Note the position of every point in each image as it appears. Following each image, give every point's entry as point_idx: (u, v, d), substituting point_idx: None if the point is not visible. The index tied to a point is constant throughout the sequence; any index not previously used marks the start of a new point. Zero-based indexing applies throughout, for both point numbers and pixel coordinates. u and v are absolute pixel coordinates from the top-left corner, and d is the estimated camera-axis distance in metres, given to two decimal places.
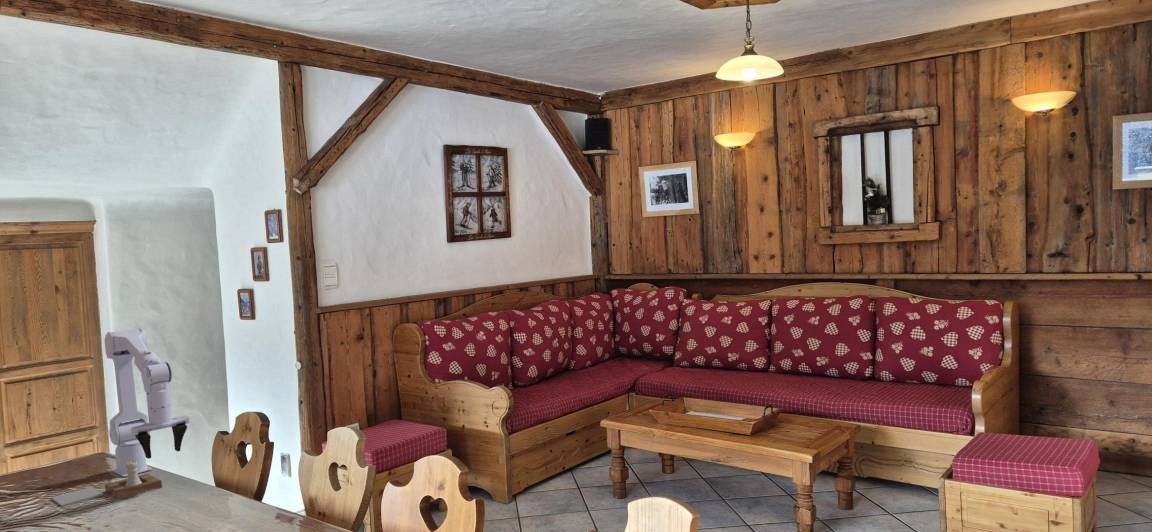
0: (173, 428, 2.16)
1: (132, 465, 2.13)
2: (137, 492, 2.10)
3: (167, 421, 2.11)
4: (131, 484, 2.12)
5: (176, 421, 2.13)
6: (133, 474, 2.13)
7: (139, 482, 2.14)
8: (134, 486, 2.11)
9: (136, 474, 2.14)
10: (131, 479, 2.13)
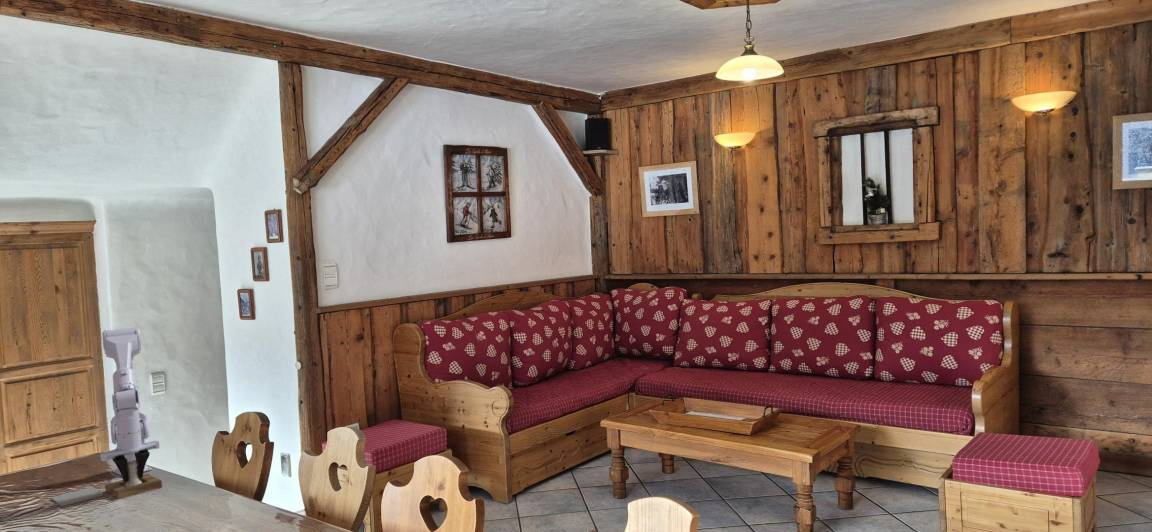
0: (136, 455, 2.16)
1: (132, 465, 2.13)
2: (137, 492, 2.10)
3: (136, 447, 2.12)
4: (131, 484, 2.12)
5: (146, 446, 2.15)
6: (133, 474, 2.13)
7: (139, 482, 2.14)
8: (134, 486, 2.11)
9: (136, 474, 2.14)
10: (131, 479, 2.13)
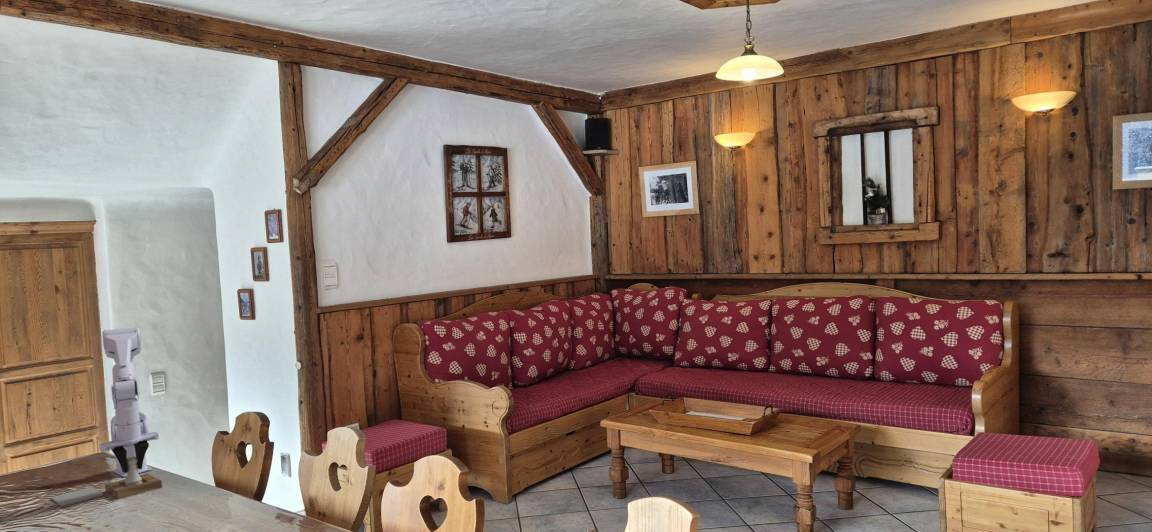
0: (135, 446, 2.16)
1: (131, 461, 2.13)
2: (137, 492, 2.10)
3: (136, 437, 2.12)
4: (130, 480, 2.12)
5: (145, 437, 2.15)
6: (132, 470, 2.13)
7: (138, 479, 2.14)
8: (134, 486, 2.11)
9: (136, 470, 2.14)
10: (130, 475, 2.13)
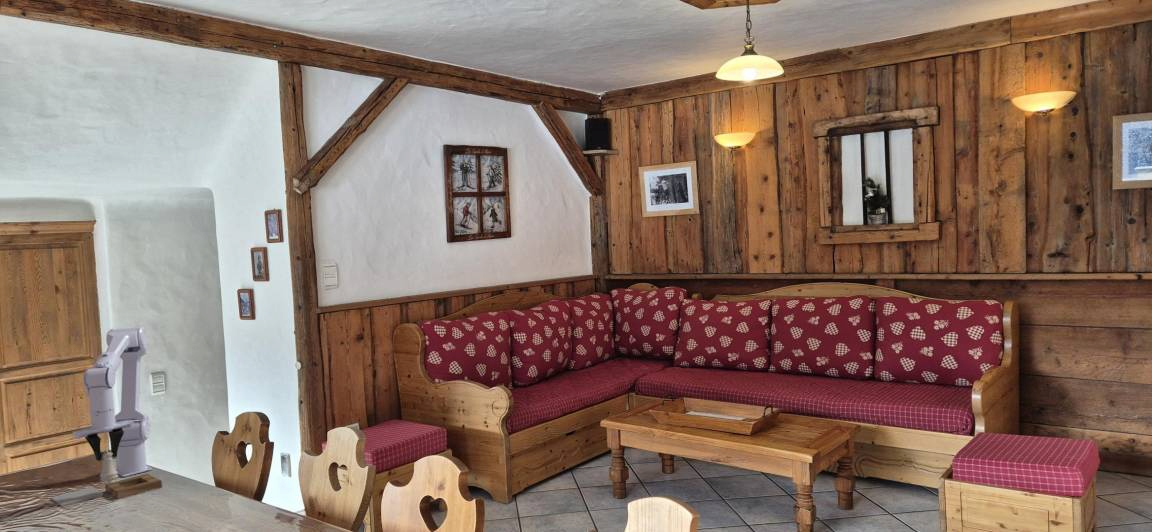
0: (110, 434, 2.14)
1: (106, 454, 2.10)
2: (137, 492, 2.10)
3: (110, 425, 2.10)
4: (105, 473, 2.10)
5: (120, 425, 2.13)
6: (108, 463, 2.11)
7: (114, 472, 2.11)
8: (134, 486, 2.11)
9: (111, 463, 2.12)
10: (105, 468, 2.10)
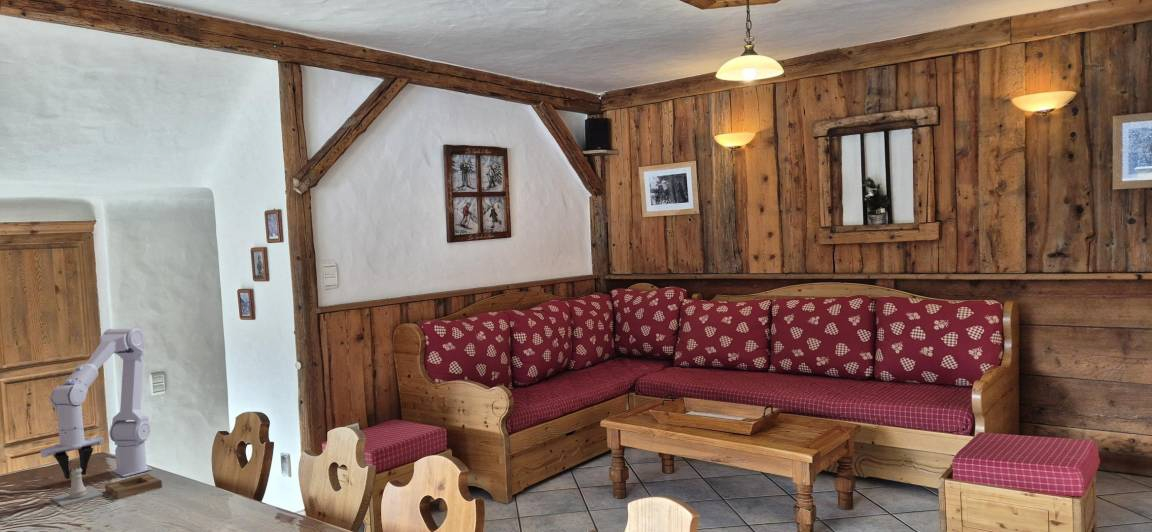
0: (79, 451, 2.12)
1: (75, 471, 2.08)
2: (137, 492, 2.10)
3: (78, 443, 2.08)
4: (74, 491, 2.08)
5: (89, 442, 2.10)
6: (76, 480, 2.08)
7: (83, 489, 2.09)
8: (134, 486, 2.11)
9: (80, 481, 2.09)
10: (74, 486, 2.08)
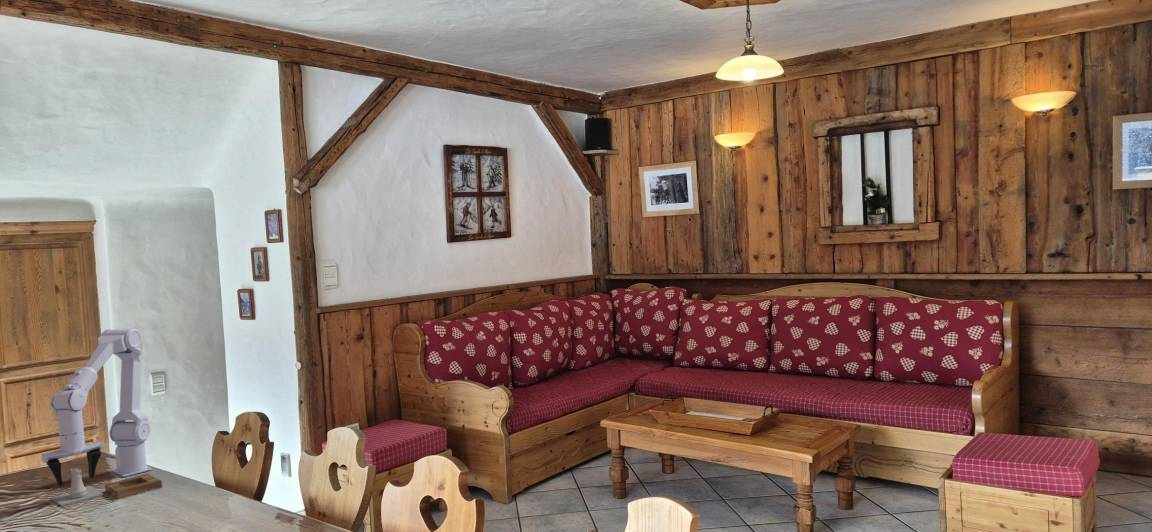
0: (87, 454, 2.13)
1: (75, 471, 2.08)
2: (137, 492, 2.10)
3: (79, 448, 2.08)
4: (74, 491, 2.08)
5: (89, 447, 2.11)
6: (76, 480, 2.08)
7: (83, 489, 2.09)
8: (134, 486, 2.11)
9: (80, 481, 2.09)
10: (74, 486, 2.08)
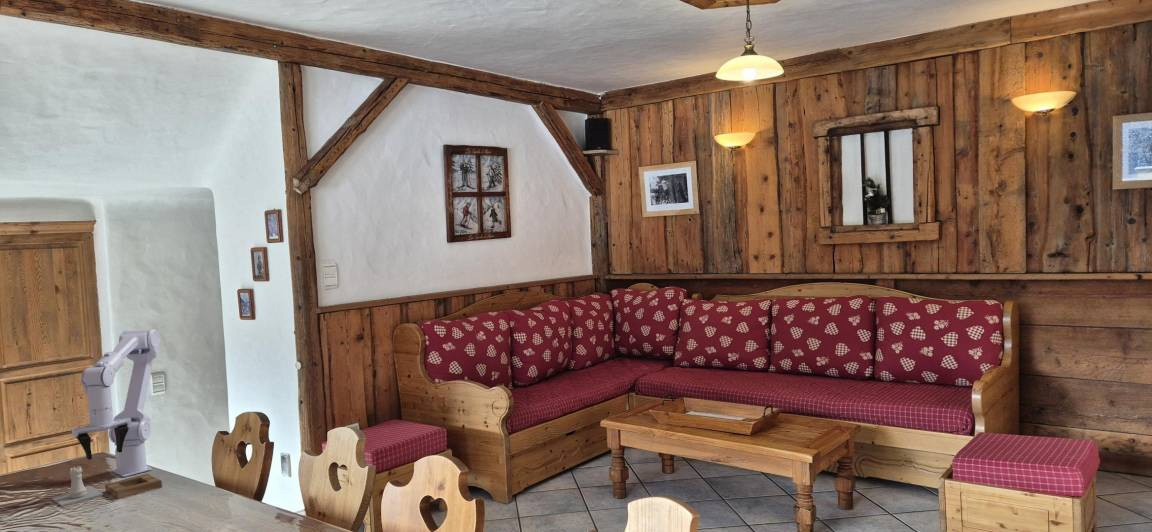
0: (115, 430, 2.20)
1: (75, 471, 2.08)
2: (137, 492, 2.10)
3: (108, 423, 2.15)
4: (74, 491, 2.08)
5: (117, 423, 2.18)
6: (76, 480, 2.08)
7: (83, 489, 2.09)
8: (134, 486, 2.11)
9: (80, 481, 2.09)
10: (74, 486, 2.08)
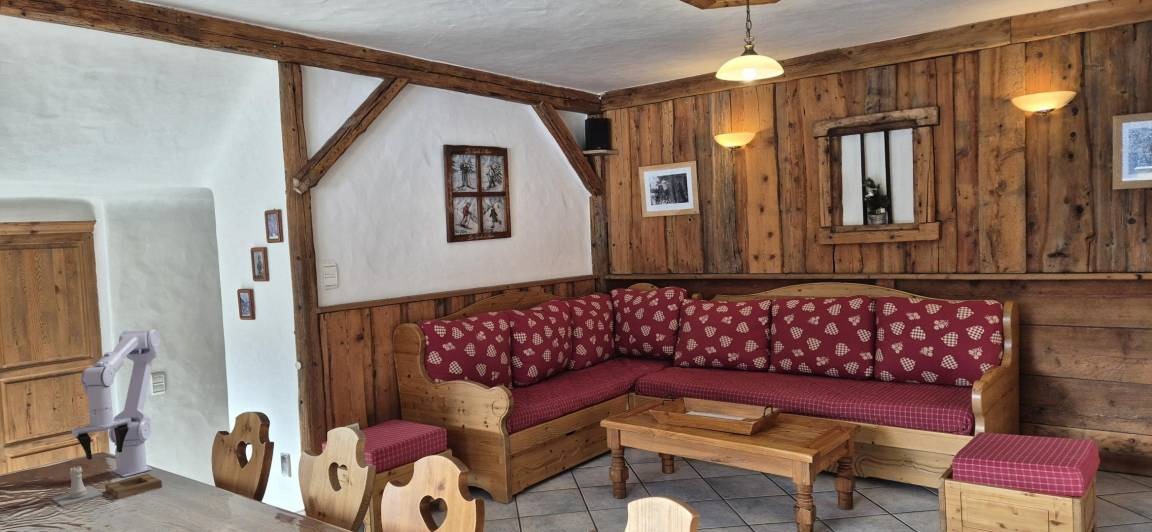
0: (115, 430, 2.20)
1: (75, 471, 2.08)
2: (137, 492, 2.10)
3: (108, 423, 2.15)
4: (74, 491, 2.08)
5: (117, 423, 2.18)
6: (76, 480, 2.08)
7: (83, 489, 2.09)
8: (134, 486, 2.11)
9: (80, 481, 2.09)
10: (74, 486, 2.08)
